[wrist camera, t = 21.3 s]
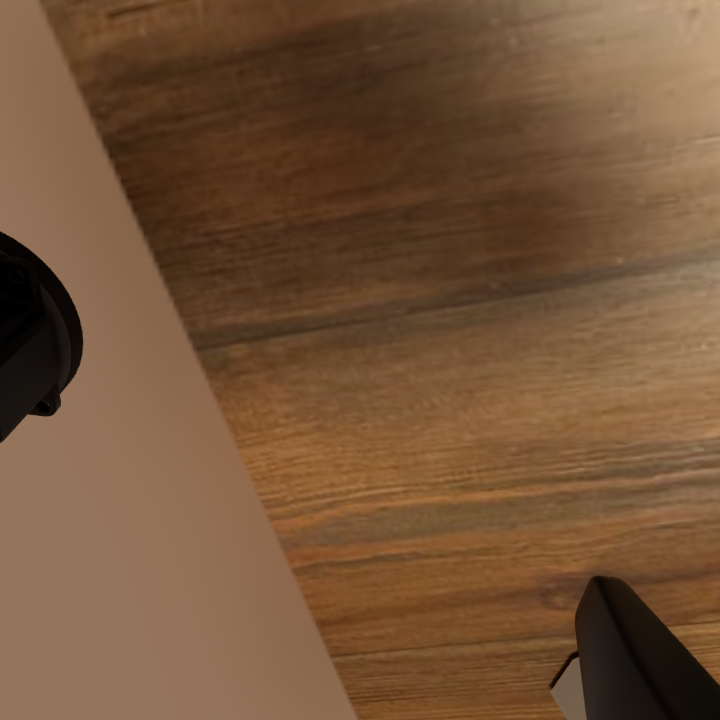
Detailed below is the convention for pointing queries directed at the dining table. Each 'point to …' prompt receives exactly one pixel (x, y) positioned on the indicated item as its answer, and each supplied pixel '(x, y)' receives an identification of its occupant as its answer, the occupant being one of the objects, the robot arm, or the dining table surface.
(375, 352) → the dining table surface
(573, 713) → the flask
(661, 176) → the dining table surface
